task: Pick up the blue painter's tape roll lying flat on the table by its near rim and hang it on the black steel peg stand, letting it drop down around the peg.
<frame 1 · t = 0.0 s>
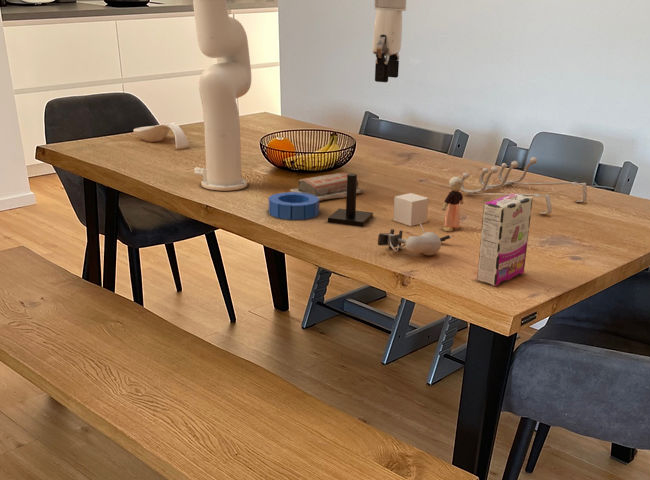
hand: (386, 79, 203), 31 cm above the table, tool pointing down, fingers open, 9 cm apart
clip-on lamp: (417, 251, 184), on the table
tape: (293, 212, 207), on the table
grandmother figurine: (451, 229, 200), on the table
spoon rest: (162, 143, 274), on the table
peg stand: (350, 219, 204), on the table
packaged product: (326, 195, 224), on the table
candy bar box: (499, 278, 171), on the table
white cube: (410, 221, 205), on the table
over door rack: (522, 199, 228), on the table
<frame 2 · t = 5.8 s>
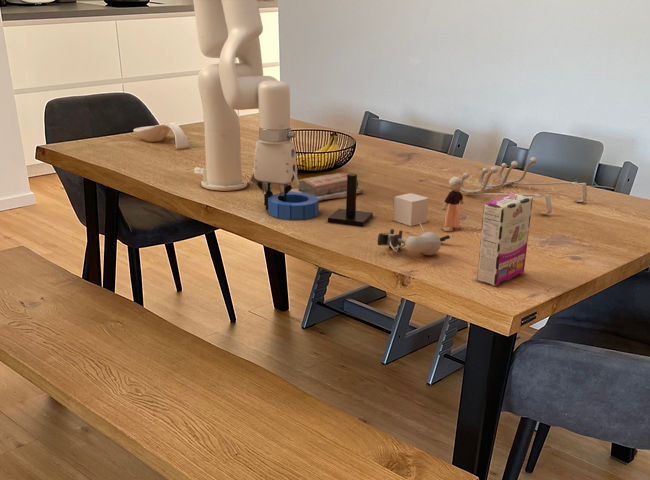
hand: (275, 208, 208), 0 cm above the table, tool pointing down, fingers closed on tape, 2 cm apart
tape: (293, 212, 207), on the table, touching gripper
everything else where it was.
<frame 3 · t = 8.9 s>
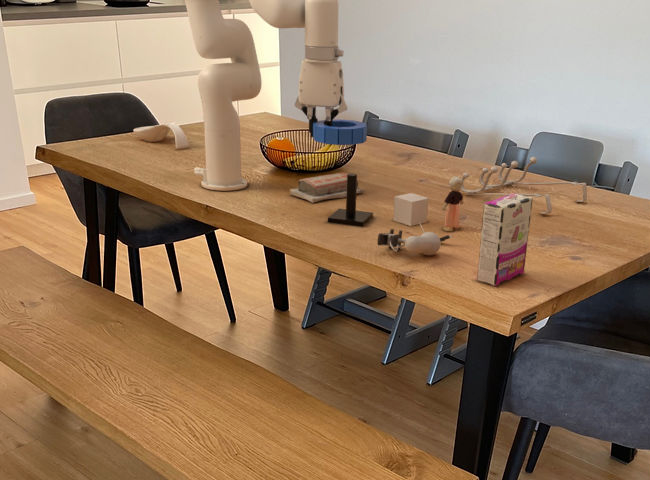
hand: (320, 136, 196), 19 cm above the table, tool pointing down, fingers closed on tape, 2 cm apart
tape: (339, 139, 195), point 19 cm above the table, touching gripper
everything else where it was.
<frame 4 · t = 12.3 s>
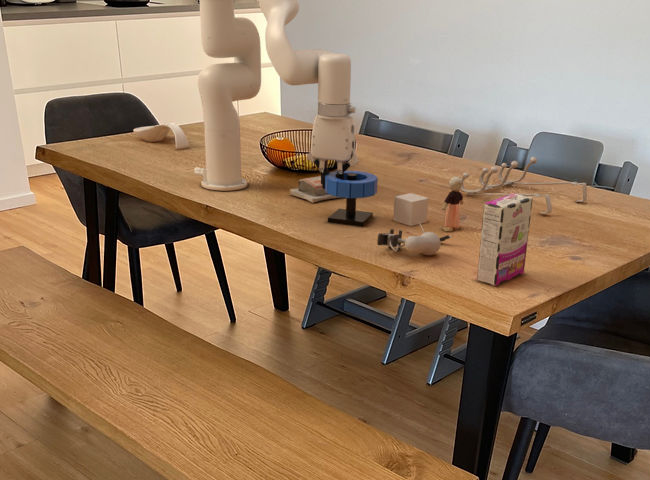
hand: (332, 187, 201), 7 cm above the table, tool pointing down, fingers closed on tape, 2 cm apart
tape: (350, 191, 200), point 7 cm above the table, touching gripper
everything else where it was.
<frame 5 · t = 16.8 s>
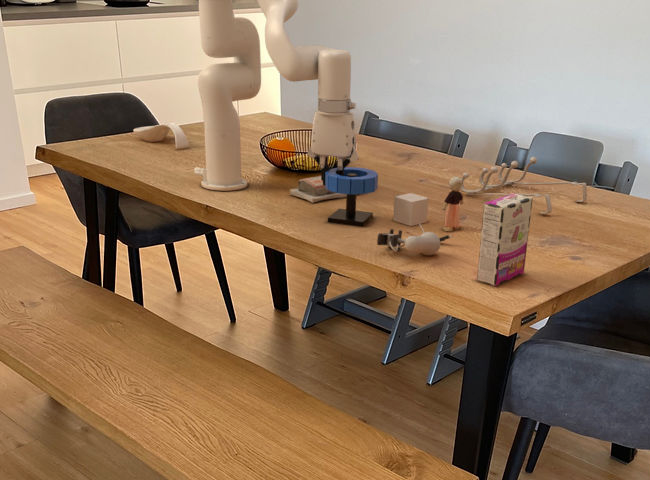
hand: (332, 184, 201), 8 cm above the table, tool pointing down, fingers closed on tape, 2 cm apart
tape: (351, 187, 200), point 8 cm above the table, touching gripper
everything else where it was.
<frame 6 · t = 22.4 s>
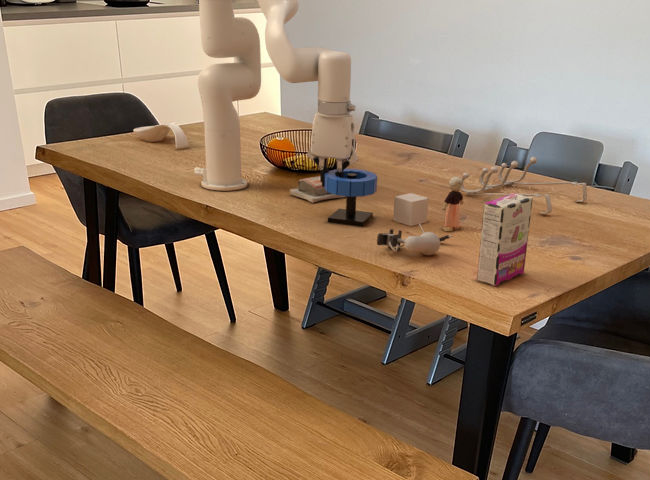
hand: (331, 185, 201), 8 cm above the table, tool pointing down, fingers closed on tape, 2 cm apart
tape: (350, 189, 200), point 7 cm above the table, touching gripper
everything else where it was.
when the fingers open (10 cm above the table, at t = 27.8 s): tape drops 8 cm, resting on peg stand.
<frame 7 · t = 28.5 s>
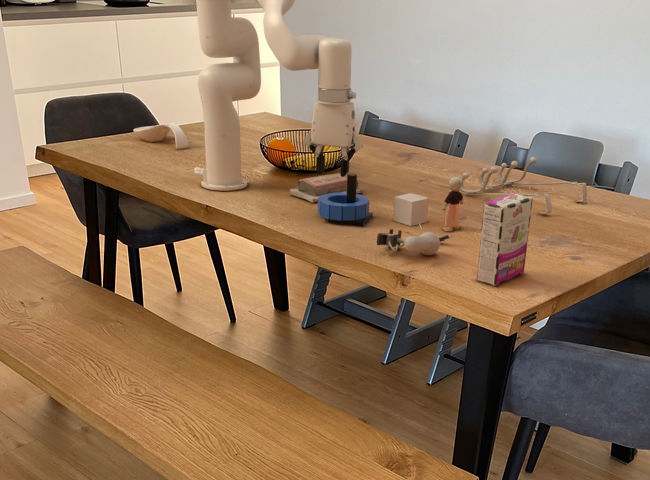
hand: (332, 173, 200), 11 cm above the table, tool pointing down, fingers open, 5 cm apart
tape: (343, 213, 204), point 1 cm above the table, touching peg stand
everything else where it was.
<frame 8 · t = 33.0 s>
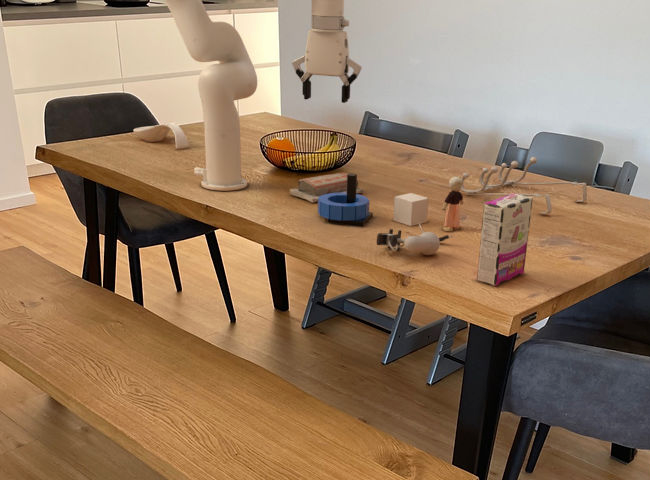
hand: (326, 100, 201), 26 cm above the table, tool pointing down, fingers open, 9 cm apart
nothing on the table moved.
at the end: tape 2.1 cm from the peg stand (horizontally); tape point 1.2 cm above the table; the gripper is holding nothing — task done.
